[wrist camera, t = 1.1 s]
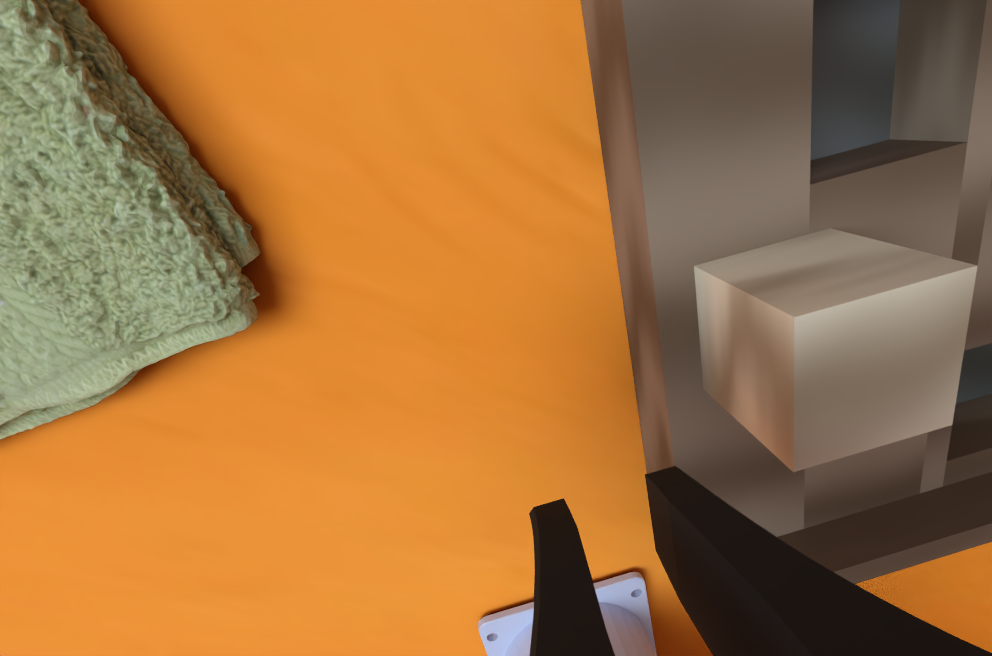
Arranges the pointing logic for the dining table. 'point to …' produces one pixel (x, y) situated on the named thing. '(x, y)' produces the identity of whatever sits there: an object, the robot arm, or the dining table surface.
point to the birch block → (833, 342)
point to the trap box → (800, 232)
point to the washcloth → (99, 223)
